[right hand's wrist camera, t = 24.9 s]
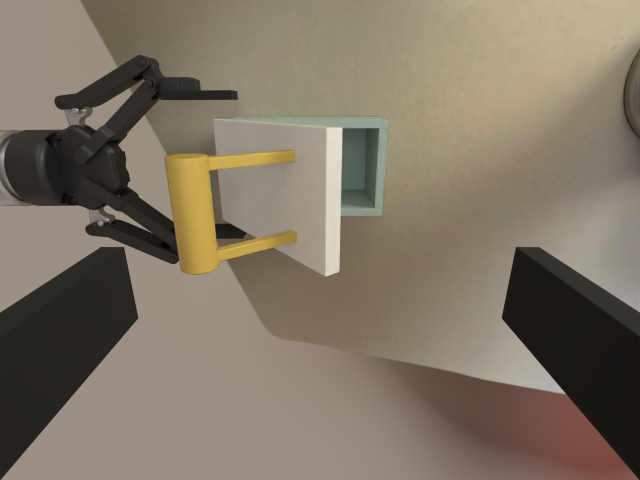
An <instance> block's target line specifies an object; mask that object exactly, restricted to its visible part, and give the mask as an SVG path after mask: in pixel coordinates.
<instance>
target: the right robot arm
mask: <svg viewBox="0 0 640 480" xmlns="http://www.w3.org/2000/svg"><path fill="white" fill-rule="evenodd" d="M625 109H626V114H627V117H628V120H629V122H630V124H631V126H632V128H633V129H634V131H635V132H636V133H637V134H638V135H639V136H640V51H639V52H638V54H637V56H636V58H635V60H634V62H633V64H632V66H631V69H630V72H629V74H628V78H627V82H626V87H625ZM137 319H138V314H137V309H136V305H135V300H134V295H133V290H132V285H131V280H130V275H129V270H128V265H127V260H126V255H125V250H124V247H101V248H99V249H97V250H96V251H95V252H93V253H91V254H90V255H88V256H87V257H85V258H84V259H82V260H81V261H79V262H77V263H76V264H74V265H73V266H71V267H70V268H68V269H67V270H65V271H64V272H62V273H60V274H59V275H57V276H56V277H54V278H53V279H51V280H50V281H48V282H47V283H45V284H44V285H42V286H40V287H39V288H37V289H36V290H34V291H33V292H31V293H30V294H28V295H27V296H25V297H24V298H22V299H21V300H19V301H17V302H16V303H14V304H13V305H11V306H10V307H8V308H7V309H5V310H4V311H2V312H1V313H0V480H1V479H2V478H3V476H4V475H5V474H6V473H7V472H8V471H9V469H10V468H11V467H12V466H13V465H14V463H15V462H16V461H17V460H18V459H19V458H20V456H21V455H22V454H23V453H24V452H25V451H26V449H27V448H28V447H29V446H30V445H31V444H32V442H33V441H34V440H35V439H36V438H37V436H38V435H39V434H40V433H41V432H42V431H43V429H44V428H45V427H46V426H47V425H48V424H49V422H50V421H51V420H52V419H53V418H54V417H55V415H56V414H57V413H58V412H59V411H60V409H61V408H62V407H63V406H64V405H65V404H66V402H67V401H68V400H69V399H70V398H71V397H72V395H73V394H74V393H75V392H76V391H77V389H78V388H79V387H80V386H81V385H82V384H83V382H84V381H85V380H86V379H87V378H88V377H89V375H90V374H91V373H92V372H93V371H94V370H95V368H96V367H97V366H98V365H99V364H100V362H101V361H102V360H103V359H104V358H105V357H106V355H107V354H108V353H109V352H110V351H111V350H112V348H113V347H114V346H115V345H116V344H117V343H118V341H119V340H120V339H121V338H122V337H123V336H124V334H125V333H126V332H127V331H128V330H129V329H130V327H131V326H132V325H133V324H134V323H135V321H136V320H137ZM502 319H503V320H504V321H505V323H506V324H507V325H508V326H509V327H510V329H511V330H512V331H513V332H514V333H515V334H516V336H517V337H518V338H519V339H520V340H521V341H522V343H523V344H524V345H525V346H526V347H527V348H528V350H529V351H530V352H531V353H532V354H533V356H534V357H535V358H536V359H537V360H538V361H539V363H540V364H541V365H542V366H543V367H544V368H545V370H546V371H547V372H548V373H549V374H550V375H551V377H552V378H553V379H554V380H555V381H556V382H557V384H558V385H559V386H560V387H561V388H562V390H563V391H564V392H565V393H566V394H567V395H568V397H569V398H570V399H571V400H572V401H573V402H574V404H575V405H576V406H577V407H578V408H579V409H580V411H581V412H582V413H583V414H584V415H585V416H586V418H587V419H588V420H589V421H590V422H591V424H592V425H593V426H594V427H595V428H596V429H597V431H598V432H599V433H600V434H601V435H602V436H603V438H604V439H605V440H606V441H607V442H608V443H609V445H610V446H611V447H612V448H613V449H614V451H615V452H616V453H617V454H618V455H619V456H620V458H621V459H622V460H623V461H624V462H625V463H626V465H627V466H628V467H629V468H630V469H631V470H632V472H633V473H634V474H635V475H636V476H637V477H638V479H639V480H640V312H638V311H636V310H635V309H633V308H632V307H630V306H629V305H627V304H626V303H624V302H623V301H621V300H620V299H618V298H616V297H615V296H613V295H612V294H610V293H609V292H607V291H606V290H604V289H603V288H601V287H600V286H598V285H596V284H595V283H593V282H592V281H590V280H589V279H587V278H586V277H584V276H583V275H581V274H579V273H578V272H576V271H575V270H573V269H572V268H570V267H569V266H567V265H566V264H564V263H563V262H561V261H559V260H558V259H556V258H555V257H553V256H552V255H550V254H549V253H547V252H546V251H544V250H543V249H541V248H539V247H516V250H515V255H514V260H513V265H512V270H511V275H510V280H509V285H508V290H507V295H506V299H505V304H504V309H503V314H502Z"/></svg>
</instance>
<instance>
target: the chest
mask: <svg viewBox="0 0 640 480" xmlns="http://www.w3.org/2000/svg"><path fill="white" fill-rule="evenodd" d="M225 119H231V120H245V121H259V122H273V123H287V124H301V125H315V126H329V127H342V171H341V215H340V216H382V207H383V191H384V176H385V160H386V144H387V128H388V119H384V118H379V117H374V116H239V117H232V118H225Z"/></svg>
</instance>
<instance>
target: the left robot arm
mask: <svg viewBox="0 0 640 480" xmlns="http://www.w3.org/2000/svg"><path fill="white" fill-rule="evenodd" d="M143 79H145V81H144V82H143V83H142V84H141V85H140V87H139V88H138V89H137V90H136V91H135V92H134V93H133V94H132V95H131V96H130V98H129V99H128V100H127V101H126V102H125V103H124V104H123V105H122V106H121V107H120V109H119V110H118V111H117V112H116V113H115V114H114V115H113V116H112V117H111V118H110V119H109V120H108V122H107V123H106V124H105V125H103V126H102V127H100V128H99V129H98V130H97V131H96V130H94V129H93V128H91V127H90V126H88V125H85V119H86V118H87V117H88V116H90V115H91V113H92V112H93V110H92V107H97V106H99V105H101V104H103V103H105V102H107V101H108V100H110V99H112V98H113V97H115V96H117V95H118V94H120V93H122V92H123V91H125V90H127V89H128V88H130V87H132V86H133V85H135V84H137V83H138V82H140V81H142V80H143ZM160 98H161V100H238V96H237V91H232V90H208V91H201V89H200V81H199V80H197V79H194V78H190V77H164V76H163V75H162V73H161V72H160V70H159V64H158V62H157V61H156V60H155V59H153V58H150V57H146V56H142V55H138V56H136V57H134V58H133V59H131V60H130V61H128V62H126V63H125V64H123V65H122V66H120V67H118V68H117V69H115V70H113V71H112V72H110V73H109V74H107V75H105V76H104V77H102V78H101V79H99V80H97V81H96V82H94V83H92V84H91V85H89V86H88V87H86V88H84V89H83V90H81V91H80V92H78V93H76V94H69V95H61V96H57V97H56V98H55V105H56V106H57V107H58V108H59V109H62V110H64V111H65V114H66V117H67V120H68V123H69V127H68V128H66V129H64V130H24V131H20V130H0V206H31V205H37V206H74V205H78V206H82V207H85V208H87V209H89V214H90V223H91V224H89V225H87V226H86V228H85V230H86V232H87V234H89V235H92V236H101V237H109V238H111V239H113V240H116V241H118V242H121V243H123V244H125V245H128V246H130V247H133V248H135V249H137V250H140V251H142V252H144V253H147V254H149V255H152V256H154V257H156V258H159V259H161V260H164V261H166V262H168V263H171V264H175V263H177V262H178V261H179V255H178V248H177V242H176V235H175V228H174V222H173V221H171V220H170V219H169V218H167V217H166V216H164V215H163V214H162V213H160V212H159V211H157V210H156V209H155V208H153V207H152V206H150V205H149V204H147V203H146V202H145V201H143V200H142V199H140V198H139V196H138V194H137V193H136V192H134V191H133V190H132V189H130V188H129V187H127V185H128V182H130V177H129V173H128V171H127V169H126V156H125V152H124V151H122V150H121V148H120V147H119V146H118V144H119V143H120V142H121V141H122V140H123V139H124V138H125V137H126V136H127V133H128V132H129V131H130V130H131V128H132V127H133V126H134V125H135V124H136V123H137V122H138V121H139V120H140V119H141V118H142V117H143V116H144V115H145V114H146V113H147V112H148V110H149V109H150V108H151V107H152V106H153V105H154V104H155V103H156V102H157V101H158V100H159V99H160ZM118 195H119V196H120V197H119V196H118ZM106 205H109V206H110V207H111V208H113V209H114V210H116V211H121V212H123V213H125V214H126V215H128V216H129V217H130V218H132V219H133V220H135V221H136V222H138V223H139V224H140V225H142V226H143V227H145V228H146V229H148V230H149V231H151V232H152V233H150V232H148V231H146V230H143V229H141V228H139V227H137V226H134V225H132V224H130V223H127V222H124V221H121V220H117V219H115V216H114V215H110V214H108V213H106V212H105V211H104V209H103V207H105V206H106ZM215 231H216V241H217V239H231V238H244V236H245V235H246V232H245V231H243V230H241V229H239V228H237V227H236V226H234V225H232V224H215Z"/></svg>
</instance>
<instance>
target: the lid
mask: <svg viewBox="0 0 640 480" xmlns="http://www.w3.org/2000/svg"><path fill="white" fill-rule="evenodd" d="M213 126H214V136H215V147H216V156H207V155H205V154H175V155H169V156H166V157H165V166H166V172H167V179H168V186H169V193H170V200H171V207H172V214H173V221H174V228H175V235H176V242H177V248H178V255H179V262H180V269H181V271H182V272H184V273H186V274H192V275H196V274H204V273H208V272H211V271H213V270H215V269H216V268H217V267H218V266H219V261H224V260H227V259H231V258H235V257H239V256H243V255H247V254H251V253H254V252H258V251H262V250H266V249H270V248H275V249H277V250H278V251H280V252H282V253H284V254H286V255H287V256H289V257H291V258H293V259H295V260H296V261H298V262H300V263H302V264H303V265H305V266H307V267H309V268H311V269H312V270H314V271H316V272H318V273H319V274H321V275H323V276H325V277H326V276H329V275H332V274H335V273H338V272H339V260H340V215H341V171H342V127H329V126H315V125H301V124H287V123H273V122H259V121H245V120H231V119H213ZM210 170H218V178H219V189H220V199H221V209H222V219H223V220H225V221H227V222H229V223H230V224H232V225H234V226H236V227H237V228H239V229H241V230H243V231H245V232H246V233H248V234H250V235H252V236H254V237H255V238H256V239H252V240H248V241H244V242H239V243H235V244H231V245H227V246H222V247H218V248H217V241H216V231H215V222H214V212H213V202H212V193H211V183H210V174H209V171H210Z"/></svg>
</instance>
